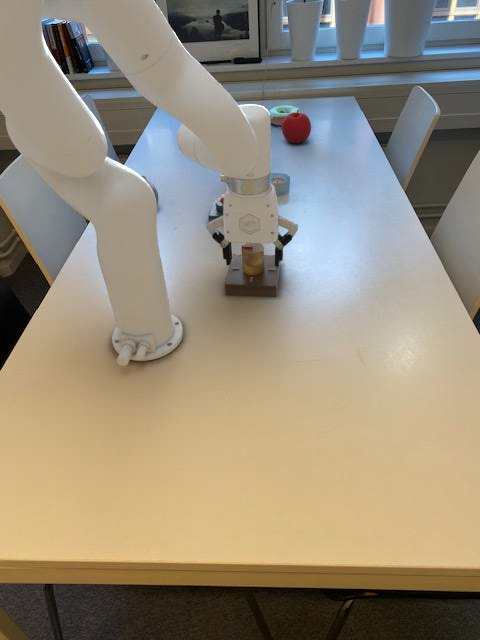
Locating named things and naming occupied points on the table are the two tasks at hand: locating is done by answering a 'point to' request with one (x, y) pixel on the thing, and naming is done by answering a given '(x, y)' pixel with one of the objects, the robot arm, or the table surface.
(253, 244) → the knob
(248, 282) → the panel
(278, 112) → the donut
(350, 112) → the table surface
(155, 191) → the vase
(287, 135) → the apple
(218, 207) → the button block
